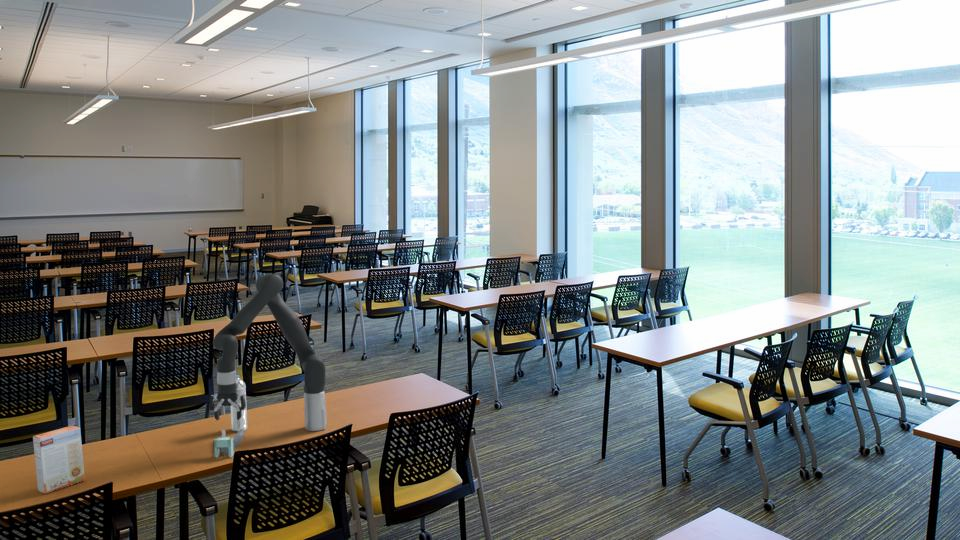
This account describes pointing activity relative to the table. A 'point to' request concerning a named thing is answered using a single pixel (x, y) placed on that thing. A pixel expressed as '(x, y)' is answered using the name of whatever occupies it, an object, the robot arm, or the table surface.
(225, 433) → the tong arm
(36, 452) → the cracker box
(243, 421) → the water bottle
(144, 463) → the table surface
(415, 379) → the table surface
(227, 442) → the lock collar
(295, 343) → the robot arm
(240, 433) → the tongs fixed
